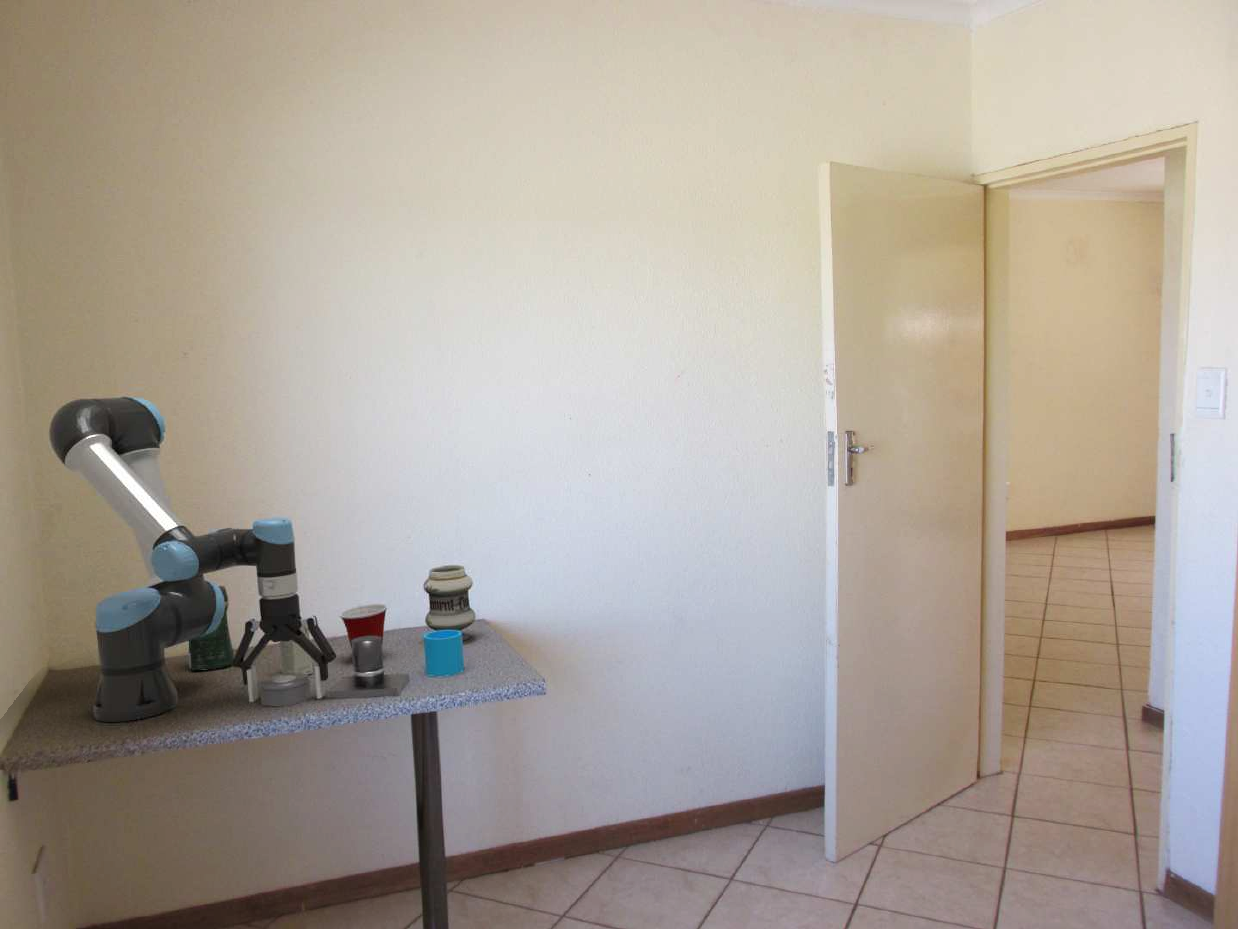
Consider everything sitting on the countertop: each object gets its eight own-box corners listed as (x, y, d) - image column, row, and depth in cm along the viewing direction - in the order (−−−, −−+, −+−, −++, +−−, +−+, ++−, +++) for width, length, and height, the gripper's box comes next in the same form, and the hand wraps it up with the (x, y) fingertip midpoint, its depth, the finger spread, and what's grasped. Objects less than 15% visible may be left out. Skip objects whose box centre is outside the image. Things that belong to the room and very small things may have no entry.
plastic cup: (338, 658, 227) (334, 607, 226) (384, 651, 231) (381, 601, 231) (347, 669, 217) (344, 616, 216) (396, 661, 222) (392, 609, 221)
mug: (464, 674, 209) (462, 637, 208) (426, 678, 207) (423, 641, 207) (462, 660, 220) (460, 624, 220) (426, 663, 219) (423, 627, 218)
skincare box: (313, 673, 215) (309, 619, 214) (295, 678, 212) (291, 623, 211) (299, 669, 219) (294, 615, 218) (280, 674, 216) (276, 619, 215)
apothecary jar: (418, 647, 233) (413, 573, 232) (438, 634, 245) (434, 563, 244) (465, 648, 231) (461, 572, 229) (484, 634, 242) (479, 563, 241)
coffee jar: (235, 659, 230) (229, 582, 229) (233, 668, 223) (226, 588, 221) (190, 665, 227) (184, 586, 226) (187, 674, 220) (180, 592, 218)
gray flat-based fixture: (328, 698, 196) (324, 647, 195) (343, 683, 206) (339, 634, 205) (397, 695, 196) (394, 644, 195) (409, 680, 206) (406, 632, 205)
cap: (254, 707, 193) (253, 686, 193) (272, 692, 202) (270, 673, 202) (300, 705, 193) (299, 684, 192) (316, 691, 202) (314, 671, 202)
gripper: (208, 602, 192) (218, 707, 194) (334, 595, 192) (343, 700, 193) (224, 594, 200) (233, 695, 201) (346, 588, 199) (354, 689, 201)
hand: (287, 698), depth 197 cm, fingers open, 13 cm apart
